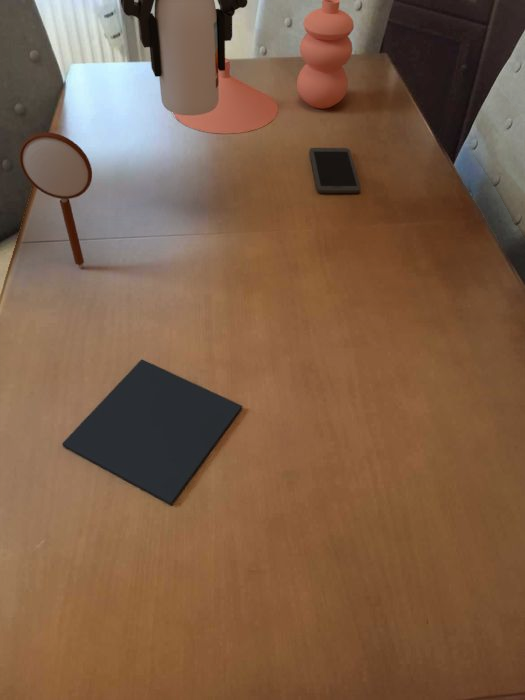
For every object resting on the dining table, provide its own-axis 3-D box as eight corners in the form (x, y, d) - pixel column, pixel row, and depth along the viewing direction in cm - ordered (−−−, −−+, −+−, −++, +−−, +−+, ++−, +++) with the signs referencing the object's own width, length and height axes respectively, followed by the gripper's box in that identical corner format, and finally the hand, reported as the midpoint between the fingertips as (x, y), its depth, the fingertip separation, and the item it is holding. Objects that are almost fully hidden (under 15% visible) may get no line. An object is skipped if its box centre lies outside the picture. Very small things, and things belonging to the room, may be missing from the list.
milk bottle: (213, 120, 78) (208, -60, 64) (155, 114, 79) (137, -66, 64) (223, 94, 84) (221, -78, 69) (169, 89, 84) (155, -83, 70)
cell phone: (348, 151, 108) (349, 147, 107) (361, 194, 99) (361, 190, 98) (308, 151, 108) (308, 147, 107) (317, 194, 98) (317, 190, 98)
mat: (62, 446, 64) (61, 443, 63) (142, 362, 72) (141, 358, 72) (171, 506, 59) (171, 503, 59) (242, 408, 68) (242, 405, 67)
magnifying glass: (112, 266, 84) (86, 132, 70) (109, 274, 83) (82, 139, 68) (52, 261, 85) (14, 126, 70) (48, 269, 83) (8, 134, 69)
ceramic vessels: (175, 136, 110) (166, 26, 96) (168, 86, 124) (159, -16, 110) (358, 126, 115) (374, 20, 101) (331, 80, 129) (342, -19, 115)
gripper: (76, -153, 56) (112, 89, 73) (282, -154, 61) (272, 73, 78) (69, -165, 61) (104, 64, 78) (261, -165, 66) (255, 51, 83)
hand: (188, 69), depth 78 cm, fingers closed on milk bottle, 8 cm apart
